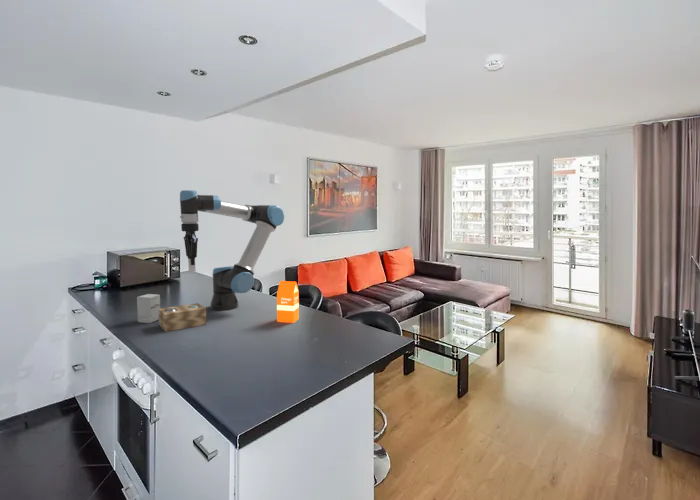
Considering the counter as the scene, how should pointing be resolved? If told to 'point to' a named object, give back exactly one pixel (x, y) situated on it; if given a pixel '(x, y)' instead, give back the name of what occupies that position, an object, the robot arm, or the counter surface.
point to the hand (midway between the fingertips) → (192, 271)
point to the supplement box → (148, 308)
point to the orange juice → (287, 302)
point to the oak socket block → (182, 317)
